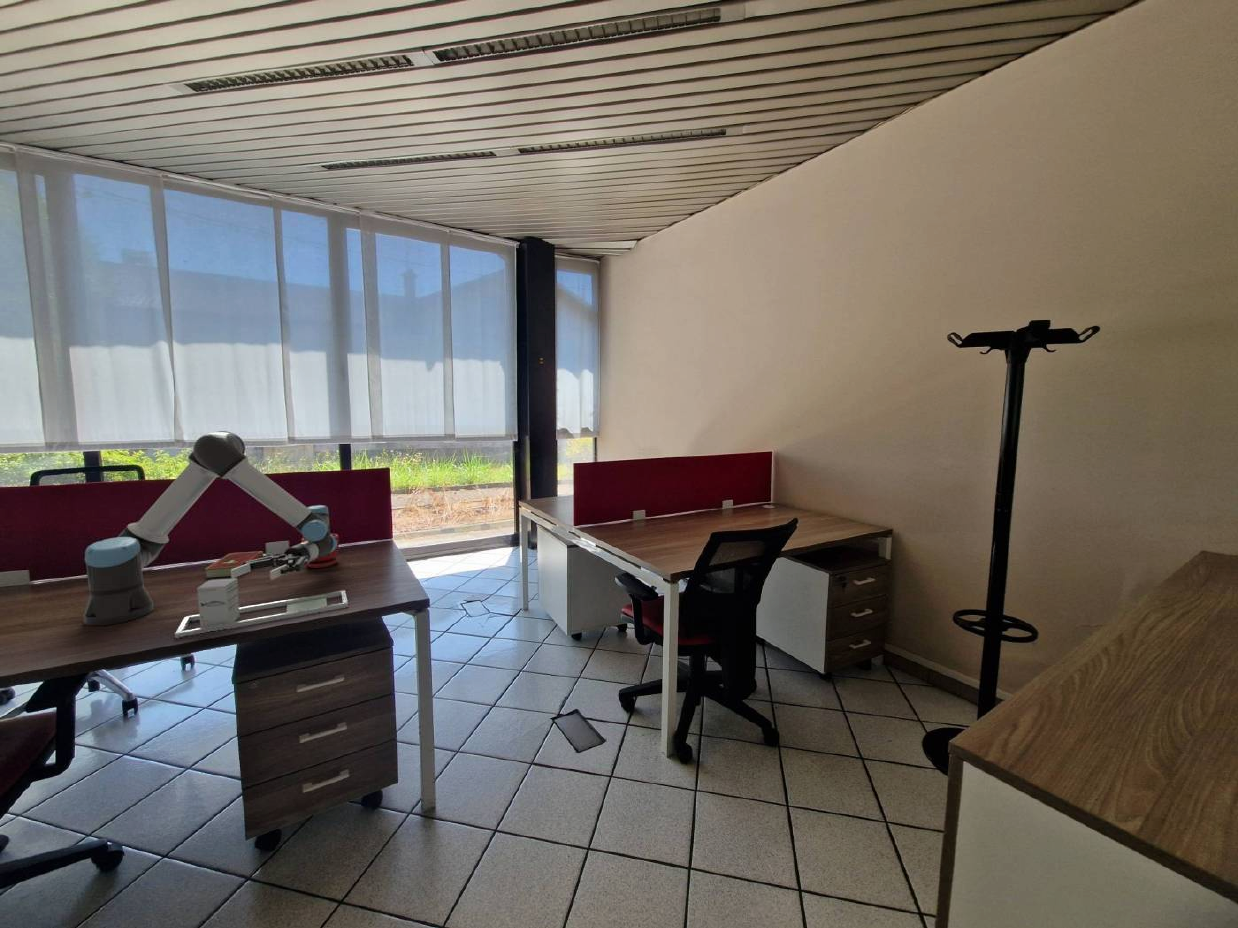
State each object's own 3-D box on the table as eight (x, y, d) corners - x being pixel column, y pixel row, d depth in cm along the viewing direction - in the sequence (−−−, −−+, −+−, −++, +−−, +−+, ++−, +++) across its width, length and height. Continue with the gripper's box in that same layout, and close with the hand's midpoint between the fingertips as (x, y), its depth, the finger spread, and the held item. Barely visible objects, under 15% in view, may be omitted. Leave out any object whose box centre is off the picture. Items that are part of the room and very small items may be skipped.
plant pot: (346, 563, 204) (344, 535, 203) (313, 571, 193) (311, 542, 192) (329, 557, 211) (328, 530, 210) (296, 565, 200) (294, 537, 199)
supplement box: (199, 629, 143) (195, 587, 142) (212, 618, 150) (209, 579, 149) (229, 626, 145) (225, 585, 143) (241, 616, 152) (237, 577, 151)
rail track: (175, 638, 137) (174, 633, 137) (185, 621, 148) (184, 616, 148) (347, 607, 160) (347, 602, 159) (345, 594, 171) (345, 590, 170)
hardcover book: (263, 560, 208) (263, 550, 208) (242, 576, 189) (241, 565, 188) (230, 562, 205) (229, 552, 204) (205, 579, 185) (204, 568, 185)
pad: (286, 616, 152) (286, 615, 152) (287, 605, 160) (287, 604, 160) (327, 609, 158) (327, 608, 158) (326, 598, 166) (326, 597, 166)
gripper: (333, 565, 177) (288, 587, 156) (270, 563, 179) (217, 584, 158) (332, 545, 176) (286, 564, 155) (268, 543, 178) (214, 562, 157)
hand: (251, 574), depth 157 cm, fingers open, 13 cm apart
